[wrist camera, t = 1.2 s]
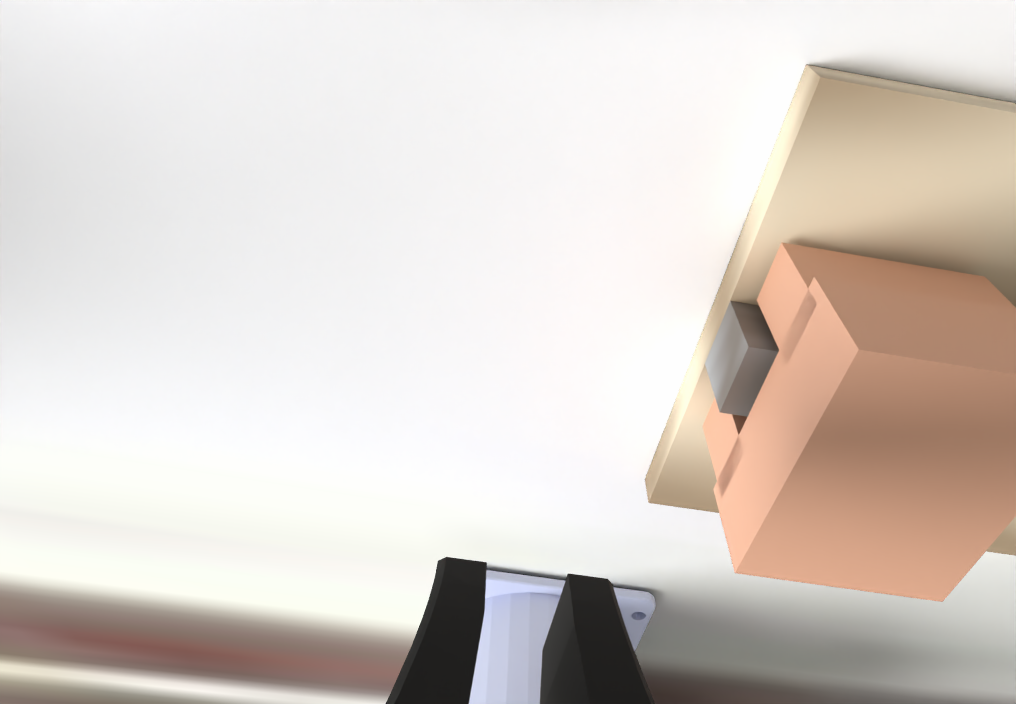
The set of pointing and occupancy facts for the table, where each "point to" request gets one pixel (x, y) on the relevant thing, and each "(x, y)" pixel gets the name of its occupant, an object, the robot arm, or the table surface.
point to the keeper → (872, 428)
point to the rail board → (848, 233)
